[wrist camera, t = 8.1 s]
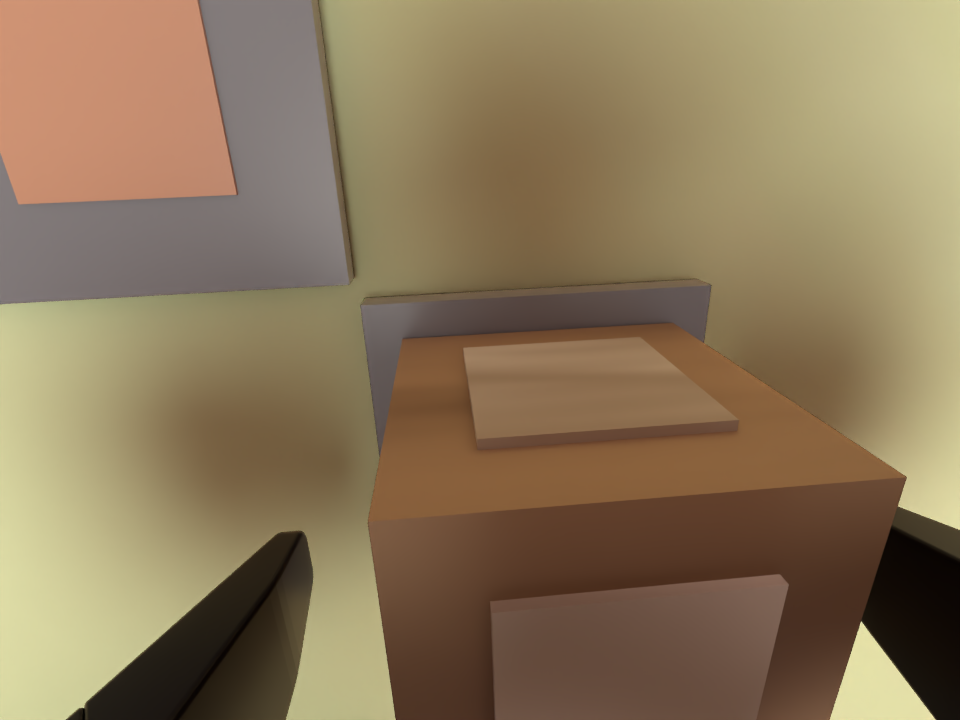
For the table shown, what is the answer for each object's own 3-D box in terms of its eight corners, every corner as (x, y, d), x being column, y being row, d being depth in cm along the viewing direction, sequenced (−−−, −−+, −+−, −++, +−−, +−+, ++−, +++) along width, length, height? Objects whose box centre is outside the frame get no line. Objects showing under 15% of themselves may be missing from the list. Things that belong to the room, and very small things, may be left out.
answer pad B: (354, 278, 10) (348, 285, 10) (-15, 298, 10) (-47, 307, 9) (293, -183, 8) (281, -214, 7) (-209, -184, 7) (-273, -218, 7)
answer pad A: (665, 542, 13) (677, 561, 13) (397, 567, 13) (395, 587, 12) (697, 279, 11) (713, 286, 10) (364, 298, 10) (359, 306, 10)
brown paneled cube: (649, 538, 12) (810, 817, 7) (423, 559, 12) (414, 868, 7) (673, 315, 10) (924, 472, 5) (401, 331, 10) (363, 519, 5)
